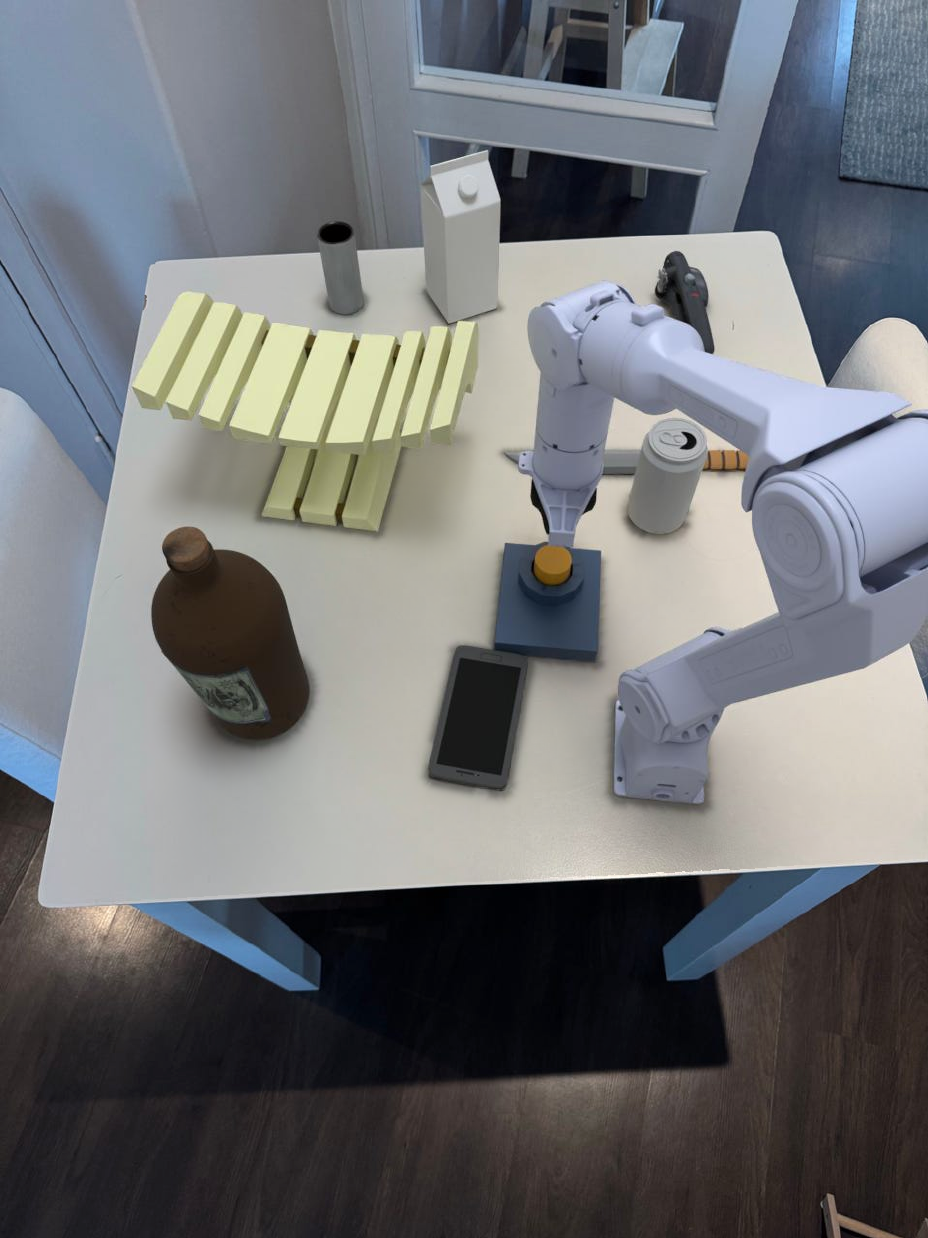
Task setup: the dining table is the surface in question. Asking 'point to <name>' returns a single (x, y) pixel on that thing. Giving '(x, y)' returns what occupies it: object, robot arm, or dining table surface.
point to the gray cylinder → (340, 267)
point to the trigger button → (552, 565)
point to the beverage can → (667, 475)
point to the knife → (629, 458)
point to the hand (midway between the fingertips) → (557, 529)
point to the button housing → (549, 606)
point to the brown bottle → (229, 636)
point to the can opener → (686, 295)
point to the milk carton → (461, 236)
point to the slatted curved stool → (311, 399)
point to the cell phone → (479, 717)
